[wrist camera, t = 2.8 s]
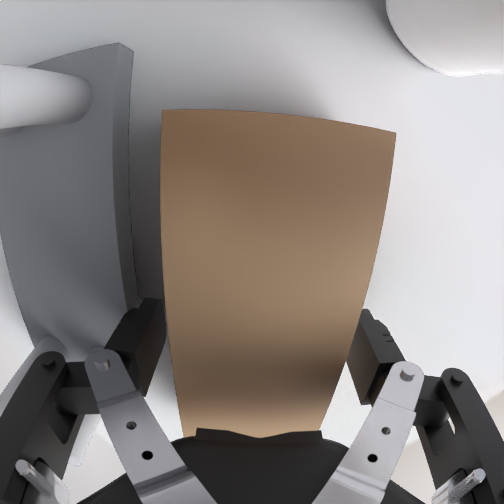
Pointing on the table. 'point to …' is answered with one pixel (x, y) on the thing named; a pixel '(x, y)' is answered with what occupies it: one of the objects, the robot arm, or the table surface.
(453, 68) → the drinking glass
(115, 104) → the peg stand
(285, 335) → the brown rectangular block
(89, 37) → the table surface
